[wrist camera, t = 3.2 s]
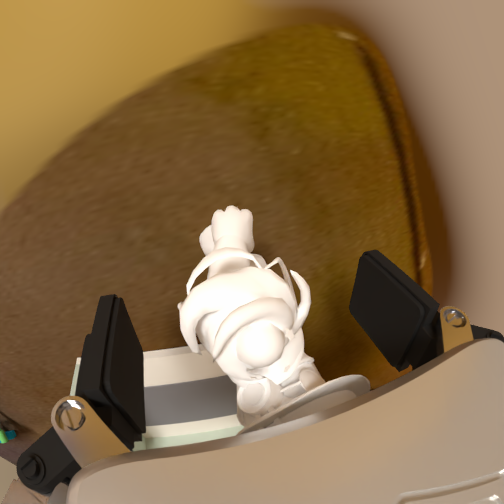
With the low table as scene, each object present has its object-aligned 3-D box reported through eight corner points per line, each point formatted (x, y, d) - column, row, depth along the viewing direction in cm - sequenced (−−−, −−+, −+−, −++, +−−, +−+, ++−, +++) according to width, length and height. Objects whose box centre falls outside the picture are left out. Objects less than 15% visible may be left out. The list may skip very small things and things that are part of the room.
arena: (285, 327, 18) (313, 379, 14) (278, 416, 24) (293, 453, 20) (77, 357, 15) (67, 413, 11) (137, 438, 21) (140, 477, 17)
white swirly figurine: (156, 195, 12) (142, 517, 2) (235, 159, 12) (473, 379, 2) (231, 325, 17) (300, 518, 6) (289, 298, 17) (394, 475, 7)
